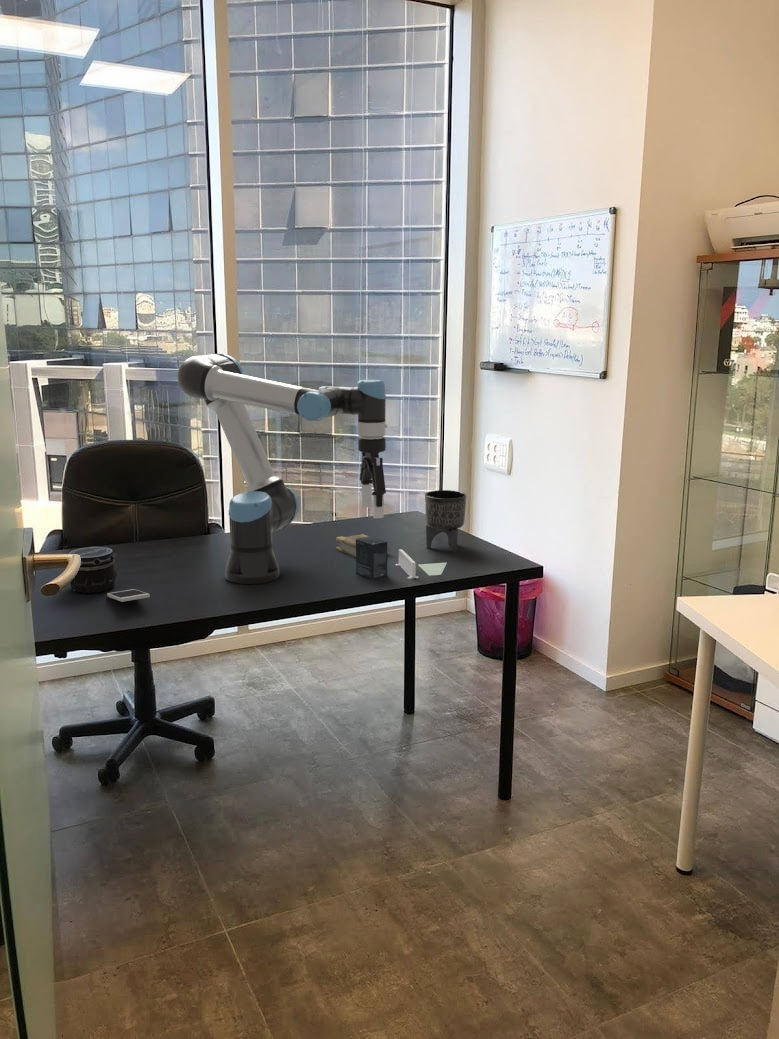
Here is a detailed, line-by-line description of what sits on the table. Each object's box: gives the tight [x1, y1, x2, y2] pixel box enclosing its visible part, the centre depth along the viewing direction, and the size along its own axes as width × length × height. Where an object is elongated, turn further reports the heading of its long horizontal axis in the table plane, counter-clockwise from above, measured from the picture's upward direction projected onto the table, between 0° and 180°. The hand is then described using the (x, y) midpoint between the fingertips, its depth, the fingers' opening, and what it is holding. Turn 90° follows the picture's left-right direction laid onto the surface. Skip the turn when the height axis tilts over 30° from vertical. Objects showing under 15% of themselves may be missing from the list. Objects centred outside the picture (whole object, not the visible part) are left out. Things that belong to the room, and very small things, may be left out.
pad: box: [418, 562, 447, 577], centre depth 251 cm, size 9×11×1 cm
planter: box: [424, 489, 467, 553], centre depth 271 cm, size 13×13×18 cm
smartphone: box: [106, 588, 151, 603], centre depth 222 cm, size 7×16×1 cm, turn 32°
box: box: [355, 535, 388, 580], centre depth 245 cm, size 8×6×11 cm
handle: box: [394, 549, 420, 580], centre depth 248 cm, size 3×14×5 cm, turn 15°
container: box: [68, 546, 118, 594], centre depth 233 cm, size 13×13×10 cm
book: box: [335, 533, 389, 558], centre depth 269 cm, size 15×11×5 cm
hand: (372, 512), depth 242 cm, fingers open, 13 cm apart
